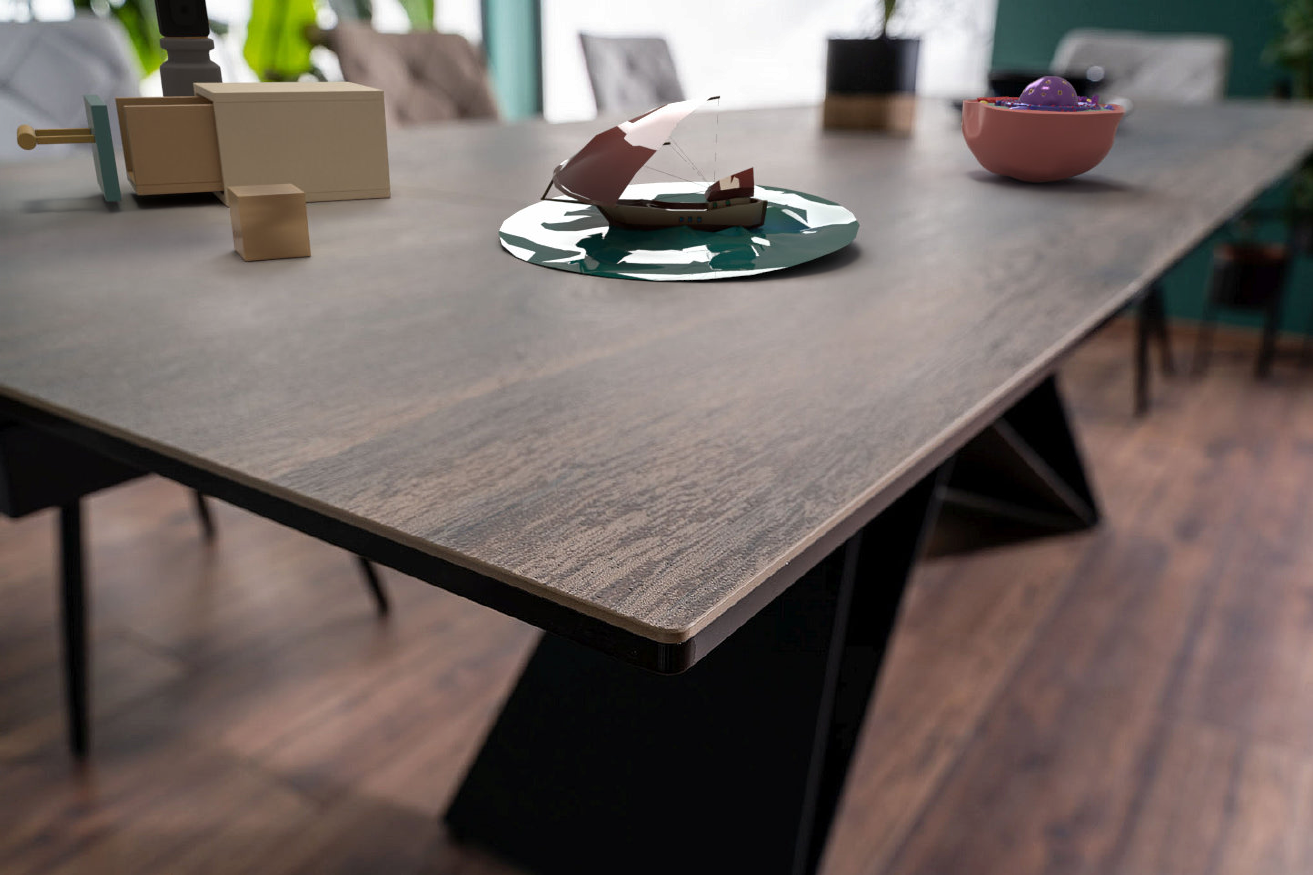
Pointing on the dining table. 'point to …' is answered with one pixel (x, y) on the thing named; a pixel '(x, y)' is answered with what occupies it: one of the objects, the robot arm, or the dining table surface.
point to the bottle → (187, 65)
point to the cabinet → (302, 137)
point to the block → (269, 221)
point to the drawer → (146, 144)
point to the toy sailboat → (669, 215)
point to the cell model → (1040, 131)
